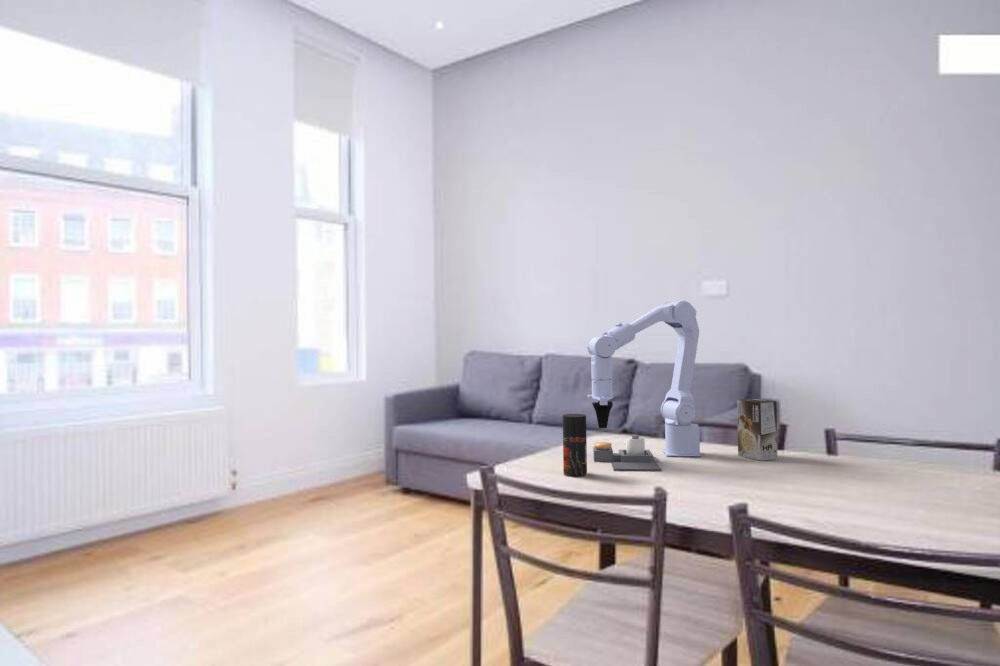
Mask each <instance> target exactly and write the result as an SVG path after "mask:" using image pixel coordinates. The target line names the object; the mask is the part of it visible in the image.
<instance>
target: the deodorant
mask: <svg viewBox="0 0 1000 666" xmlns="http://www.w3.org/2000/svg"><path fill="white" fill-rule="evenodd" d="M587 443H588V442H587V415H586V414H584V413H583V414H582V413H567V414H562V451H563V452H562V453H563V454H562V456H563V457H562V459H563V461H562V462H563V465H562V466H563V476H566V477H571V478H578V477H579V478H582V477H586V476H587V475H588V462H587V461H588V460H587V455H588V453H587V451H588V449H587Z"/></svg>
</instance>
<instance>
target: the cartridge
mask: <svg viewBox="0 0 1000 666" xmlns="http://www.w3.org/2000/svg"><path fill="white" fill-rule="evenodd" d="M625 439H626V440H625V441H626V442H625V445H626V449H625V450H626V455H645V450H646V449H645V447H646V446H645V445H646V444H645V442H646V441H645V437H641V436H640V435H639V434H632V435H631V436H629V437H626V438H625Z"/></svg>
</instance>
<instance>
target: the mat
mask: <svg viewBox="0 0 1000 666" xmlns="http://www.w3.org/2000/svg"><path fill="white" fill-rule="evenodd" d="M611 466H612V468H613V472H617V471H619V472H662V468H661V467H660V465H659V463H658V462H653V463H645V462H621V461H620V462H619V461H617V462H616V461H613V462H611Z"/></svg>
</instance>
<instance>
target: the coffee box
mask: <svg viewBox="0 0 1000 666" xmlns="http://www.w3.org/2000/svg"><path fill="white" fill-rule="evenodd" d="M736 410H737V411H736V414H737V420H736V421H737V455H738V456H739V457H743V458H747V459H752V460H757V461H761V462H764V461H765V462H766V461H771V460H772V461H773V460H777V459H778V458H779V457H778V421H777V420H778V417H777V415H778V414H777V412H778V411H777V400H776V401H775V400H769V399H761V398H751V397H750V398H742V399H736Z"/></svg>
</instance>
